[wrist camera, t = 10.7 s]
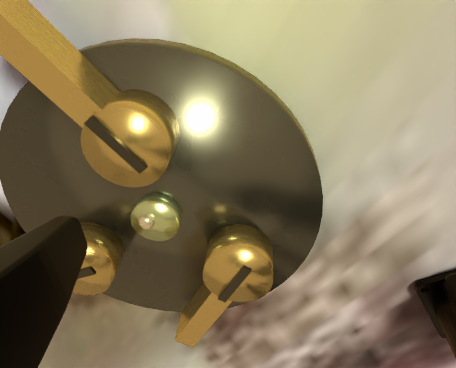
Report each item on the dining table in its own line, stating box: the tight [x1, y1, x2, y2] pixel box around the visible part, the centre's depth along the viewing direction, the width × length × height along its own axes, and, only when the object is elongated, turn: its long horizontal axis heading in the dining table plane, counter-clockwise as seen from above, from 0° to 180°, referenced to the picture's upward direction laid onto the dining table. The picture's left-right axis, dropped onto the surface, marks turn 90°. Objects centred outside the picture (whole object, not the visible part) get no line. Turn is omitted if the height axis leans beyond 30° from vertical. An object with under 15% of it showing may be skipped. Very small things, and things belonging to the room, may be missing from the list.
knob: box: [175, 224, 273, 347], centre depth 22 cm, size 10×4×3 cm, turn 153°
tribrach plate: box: [0, 39, 323, 312], centre depth 21 cm, size 19×19×3 cm
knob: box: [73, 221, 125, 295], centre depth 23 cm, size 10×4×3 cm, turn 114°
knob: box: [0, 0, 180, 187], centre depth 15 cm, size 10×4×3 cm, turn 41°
